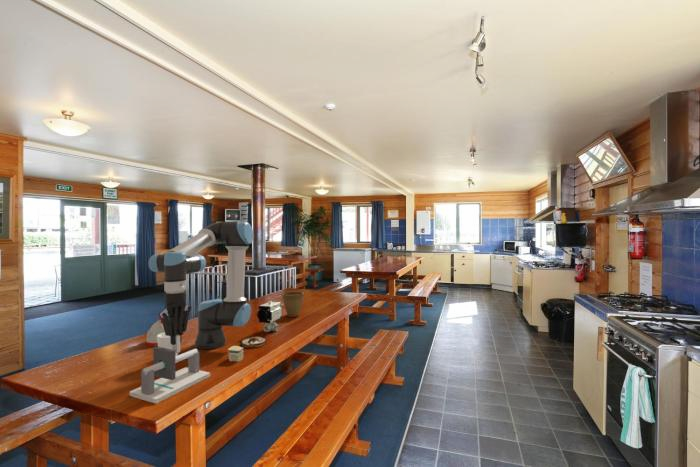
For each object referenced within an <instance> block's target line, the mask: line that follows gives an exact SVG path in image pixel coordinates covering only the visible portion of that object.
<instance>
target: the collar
mask: <svg viewBox="0 0 700 467" xmlns="http://www.w3.org/2000/svg"><path fill="white" fill-rule="evenodd" d="M152 350H153V352H152V357H153V358H152V359H153V365H154V364H157V363H160V362H161V361H166V367H165V368H163V369H160V370H157V371H155V372H154V377H158V378H165V379H169V380H174V379H175V372H176V363H175V350H172V349H167V348H162V347H158V346H153V347H152Z"/></svg>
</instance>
